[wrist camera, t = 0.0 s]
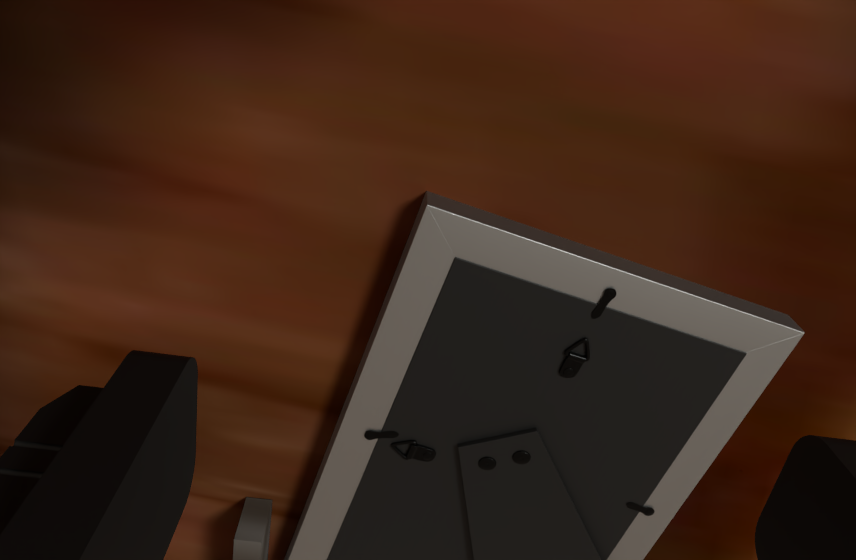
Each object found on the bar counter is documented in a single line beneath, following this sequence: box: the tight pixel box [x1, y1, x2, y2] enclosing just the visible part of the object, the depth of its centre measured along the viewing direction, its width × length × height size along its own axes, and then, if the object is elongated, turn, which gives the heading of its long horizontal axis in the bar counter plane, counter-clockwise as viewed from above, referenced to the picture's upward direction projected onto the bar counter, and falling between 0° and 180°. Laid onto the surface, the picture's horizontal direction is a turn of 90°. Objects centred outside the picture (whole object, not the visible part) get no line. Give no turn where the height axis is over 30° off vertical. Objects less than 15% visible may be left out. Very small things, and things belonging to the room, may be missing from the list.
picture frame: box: [284, 191, 804, 560], centre depth 31 cm, size 16×3×21 cm
